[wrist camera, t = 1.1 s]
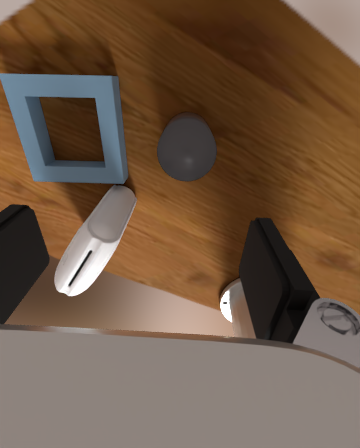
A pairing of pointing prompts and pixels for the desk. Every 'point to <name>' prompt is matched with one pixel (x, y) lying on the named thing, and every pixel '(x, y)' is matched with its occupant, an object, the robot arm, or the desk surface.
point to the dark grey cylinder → (187, 147)
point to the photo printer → (95, 241)
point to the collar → (38, 134)
